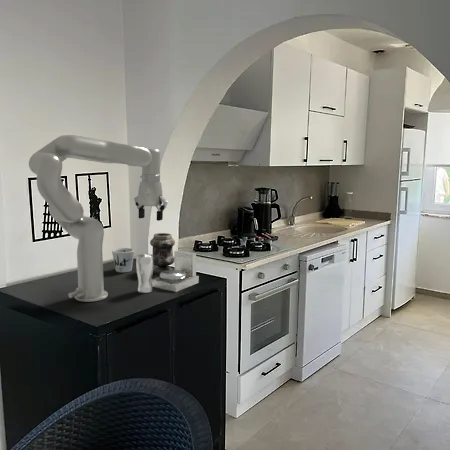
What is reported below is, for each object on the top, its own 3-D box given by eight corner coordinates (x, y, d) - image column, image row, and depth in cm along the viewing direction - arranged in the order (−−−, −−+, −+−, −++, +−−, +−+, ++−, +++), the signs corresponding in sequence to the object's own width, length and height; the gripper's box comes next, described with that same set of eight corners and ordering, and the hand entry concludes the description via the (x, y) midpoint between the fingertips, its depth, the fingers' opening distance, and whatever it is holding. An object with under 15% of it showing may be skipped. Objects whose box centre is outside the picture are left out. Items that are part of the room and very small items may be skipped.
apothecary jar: (180, 269, 224) (179, 233, 221) (165, 275, 213) (165, 237, 210) (159, 266, 229) (159, 231, 226) (144, 272, 219) (144, 235, 216)
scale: (176, 291, 190) (176, 261, 187) (152, 286, 196) (151, 256, 194) (198, 282, 203) (198, 253, 201) (175, 277, 210) (175, 250, 208)
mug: (109, 273, 216) (109, 252, 215) (118, 265, 231) (117, 245, 229) (132, 273, 216) (131, 252, 214) (139, 265, 231) (138, 246, 229)
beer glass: (141, 294, 186) (141, 258, 183) (133, 290, 191) (132, 255, 189) (156, 291, 190) (156, 255, 188) (148, 287, 196) (147, 252, 193)
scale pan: (174, 281, 190) (174, 278, 190) (154, 276, 196) (154, 274, 195) (192, 274, 200) (192, 271, 200) (172, 270, 206) (172, 267, 206)
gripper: (129, 177, 193) (128, 218, 196) (161, 180, 185) (161, 222, 188) (140, 177, 200) (140, 216, 202) (173, 179, 191) (172, 220, 194)
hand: (150, 219), depth 195 cm, fingers open, 9 cm apart
